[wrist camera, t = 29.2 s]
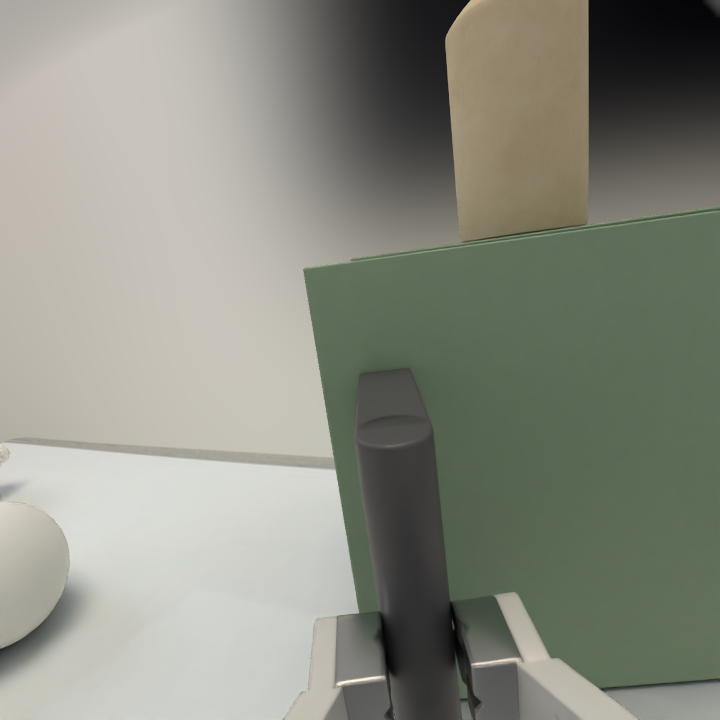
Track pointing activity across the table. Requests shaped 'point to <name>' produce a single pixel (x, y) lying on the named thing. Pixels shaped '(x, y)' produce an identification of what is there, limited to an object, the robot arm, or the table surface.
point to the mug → (29, 569)
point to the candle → (519, 116)
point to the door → (532, 447)
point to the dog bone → (4, 454)
